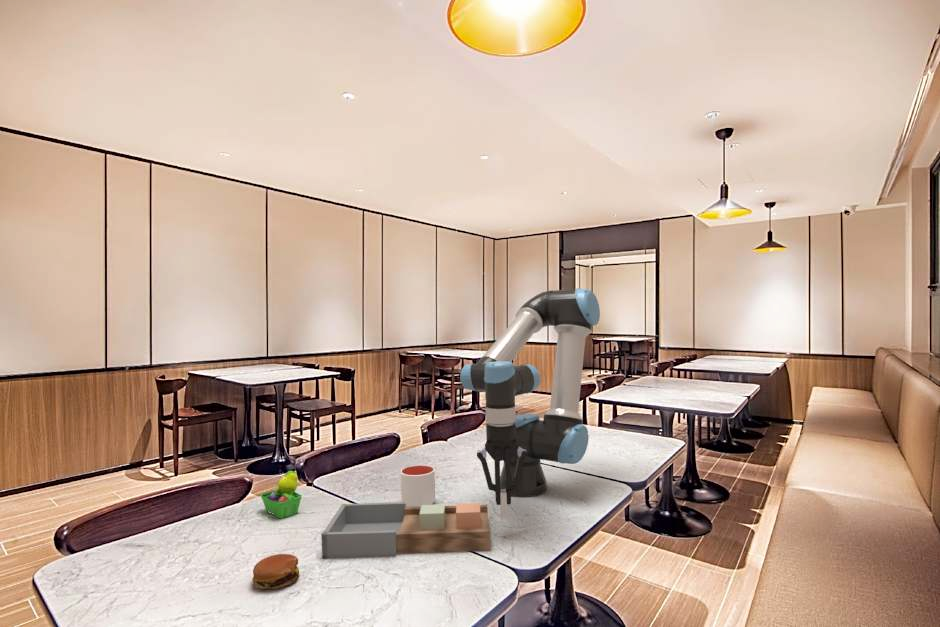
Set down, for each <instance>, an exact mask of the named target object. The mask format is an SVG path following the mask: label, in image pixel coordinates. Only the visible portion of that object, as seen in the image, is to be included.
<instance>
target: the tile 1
mask: <svg viewBox="0 0 940 627" xmlns="http://www.w3.org/2000/svg"><path fill="white" fill-rule="evenodd" d="M445 506H446V504H445V503H443V504H442V503H440V504H437V503H436V504H432V505H422V506H421V510H420V514H419V517H420V530H444V528H445Z"/></svg>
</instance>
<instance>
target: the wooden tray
mask: <svg viewBox="0 0 940 627" xmlns="http://www.w3.org/2000/svg"><path fill="white" fill-rule="evenodd" d="M420 510H421V507H405V516H404V519H403V522H402V525H401V528H400V531H399V532H397V534H396V545H397V555H398V554H424V553H425V554H426V553H427V554H428V553H429V554H430V553H433V554H434V553H457V552H458V553H461V552H463V553H464V552H488V551H489V552H490V551H491V533H490V532H491V531H490V523H489V514H488V513H489V512H488V511H489V510H488V504H480V516H481V528H476V529H456V505H445V528H444V530H420V517H419V514H420Z"/></svg>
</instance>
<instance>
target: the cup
mask: <svg viewBox="0 0 940 627" xmlns="http://www.w3.org/2000/svg"><path fill="white" fill-rule="evenodd" d="M435 476H436V475H435V468H434V467H433V466H429V465H421V464H420V465H411V466H407V467H404V468H402V469H401V471H400V490H401V491H400V492H401V493H400V494H401V502H406V507H421V506H422V505H434V503H435V501H436V479H435V478H436V477H435Z"/></svg>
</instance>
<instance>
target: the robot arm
mask: <svg viewBox="0 0 940 627" xmlns="http://www.w3.org/2000/svg"><path fill="white" fill-rule="evenodd" d="M600 310H601V309H600V305H599V301H598V299H597V296H596V294H595V292H593V290H591V289H589V288H575V289H559V290H546V291H543V292H540V293H538V294H536V295H534V296H533V297H531V298H530V299H529V300H528V301H527V302H525V303H523V305H522V306H521V307H520V308H519V309H518V310H517V311H516V313H515V317H514V319H513V320H512V321H511V322H510V324H509V325H508V326H507V327H506V329H505V330H504V331H503V332H502V334H500V336H499V337H498V338H497V339H496V340H495V341H494V342H493V344H492V345H491V346H490V347H489V348H488V350H486V352H485V353H484V355H482V357H480V359H479V360H478V361H477V362H476V363H467V364H465V365H463V367H462V368H461V371H460V374H459V376H460V378H459V381H460V383H461V385H462V387H463V389H466V390H469V391H475V392H483V393H484V394H485V422H486V423H487V424H486V425H485V428H486V429H485V431H486V432H485V434H486V441H485V444H484V447H482V449H480V450H479V449H478V450H477V451H476V457H477V458H478V460H479V461H480V462H481V466H482V470H483V474H484V477H485V480H486V484H487V488H488V490H489V491H492V492H495V504H496V505H497V506H500V508H499V509H500V519H501V520H508V505H511V504H512V497H521V498H522V497H525V498H526V497H535V496H539V495H542V494H544V493H546V491H547V490H548V486H547V485H548V482H547V479H546V476H545V474H544V470H543V468H542V465H541V460H542V461H550V462H554V463H555V462H556V463H559V464H562V465H564V464H570V465H573V464H577V463H579V462H581V460H582V459H583V457H585V456H584V455H585V454H586V451H587V450H588V445H589V437H590V434H588V433H589V430H588V428H587V426H585V425H584V424H583V418H582V417H581V415H580V414H579V406H580V396H581V389H582V388H581V387H582V378H583V366H584V357H585V356H584V355H585V347H586V338H587V337H588V336H589V335H590V334H591V332H592V328H593V326H597V325H598V324H599V322H600V318H601V316H600V314H601V313H600V312H601V311H600ZM549 326H550V327H551V326H552V327H553V329H554V331H555V332H556V333H557V341H556V350H555V359H554V368H553V377H552V384H551V385H552V386H551V388H552V389H551V396H550V401H549V402H550V403H549V409H548V410H547V411H546V412H544V414H543V420H542V419H541V420H540V415H539V414H538V413H524V414H518V415H517V414H516V397H517V396H521V395H525V394H530V393H531V392H533V391H535V390H536V389H538V387H539V386H540V383H541V374H540V372H539V370H538V369H537V368H536V367H535V366H534V365H531V364H521V365H514V363H513V362H512V361H513V360H514V359H515V358H516V356H517V355H518V354H519V352H520V351H521V350H522V349H523V347H524V346H525V345H526V344H527V342H528V341H529V340H530V339H531V337H532V336H533V335H534V334H536V333H538V332H539V331H541V330H542V329H543V328H544V327H549ZM487 454H488V455H489V457H490V458H492V460H494V483H493V480H492V476H491V473H490V470H489V465H488V462H487V459H486V458H487V457H488V455H487ZM501 461H502V462H503V466H502V469H501Z"/></svg>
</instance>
